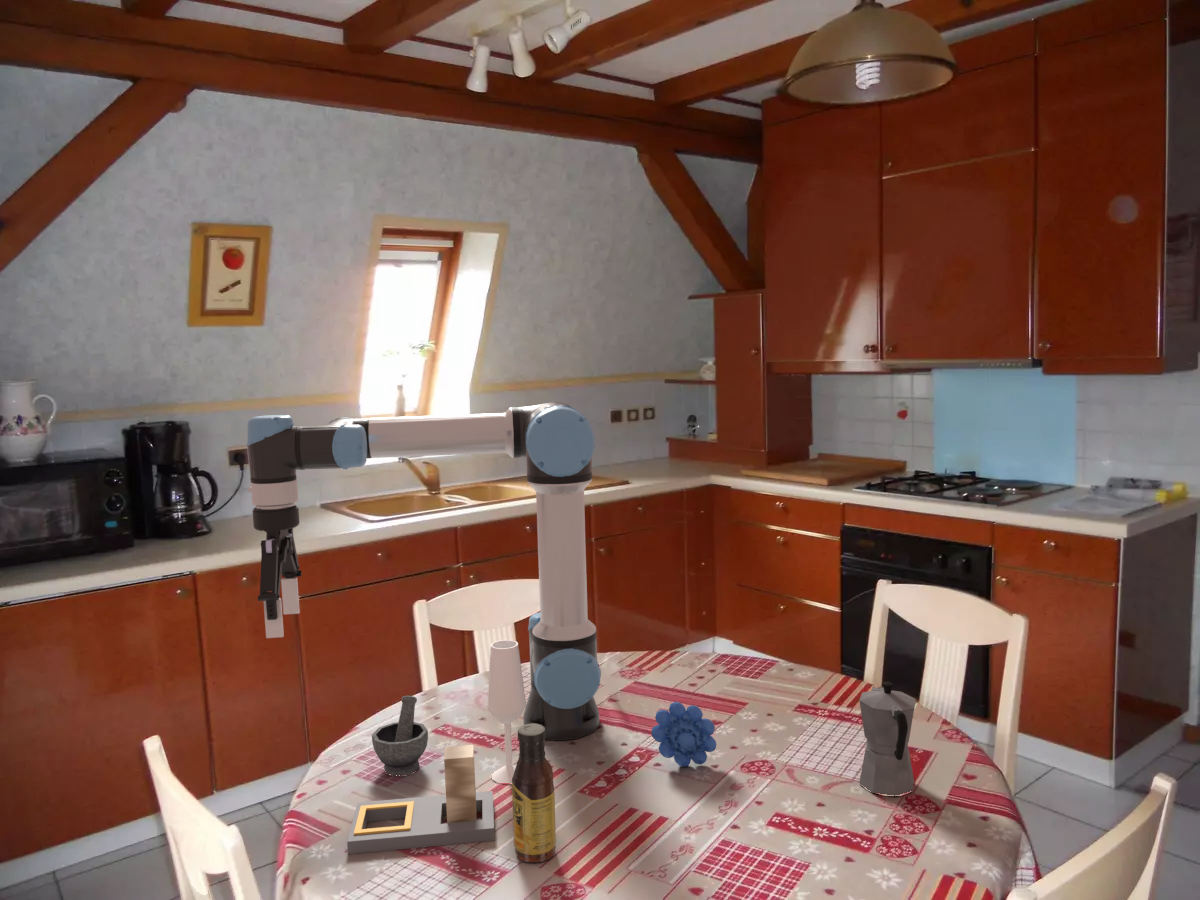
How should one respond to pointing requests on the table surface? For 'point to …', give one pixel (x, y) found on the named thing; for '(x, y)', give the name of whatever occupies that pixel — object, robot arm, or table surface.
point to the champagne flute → (505, 696)
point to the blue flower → (684, 734)
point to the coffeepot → (887, 740)
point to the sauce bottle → (533, 798)
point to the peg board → (417, 824)
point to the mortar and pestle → (401, 741)
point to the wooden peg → (460, 783)
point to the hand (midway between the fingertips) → (283, 625)
